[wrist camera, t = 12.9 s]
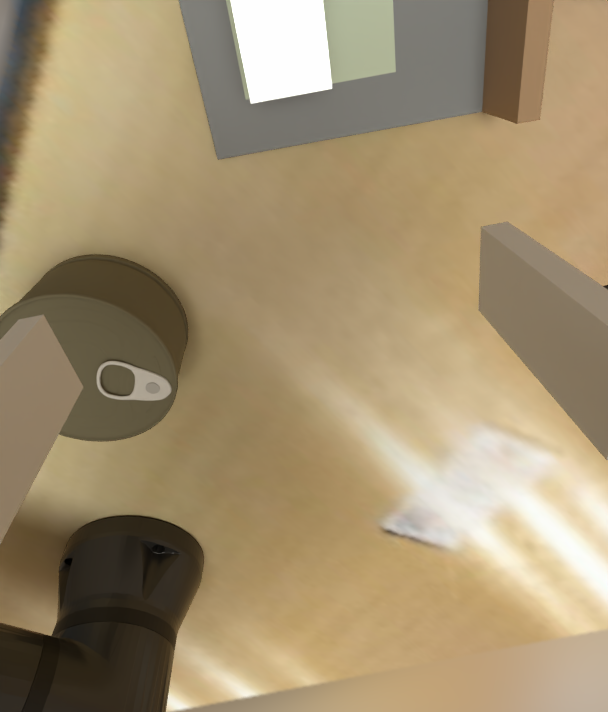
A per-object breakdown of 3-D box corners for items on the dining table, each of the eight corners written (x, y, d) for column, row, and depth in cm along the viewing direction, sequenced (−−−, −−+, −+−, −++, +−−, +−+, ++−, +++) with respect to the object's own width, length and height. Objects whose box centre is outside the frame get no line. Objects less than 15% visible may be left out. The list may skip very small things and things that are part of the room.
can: (27, 232, 32) (-24, 274, 27) (202, 273, 35) (189, 318, 29) (32, 370, 39) (-9, 427, 33) (180, 396, 41) (165, 453, 35)
